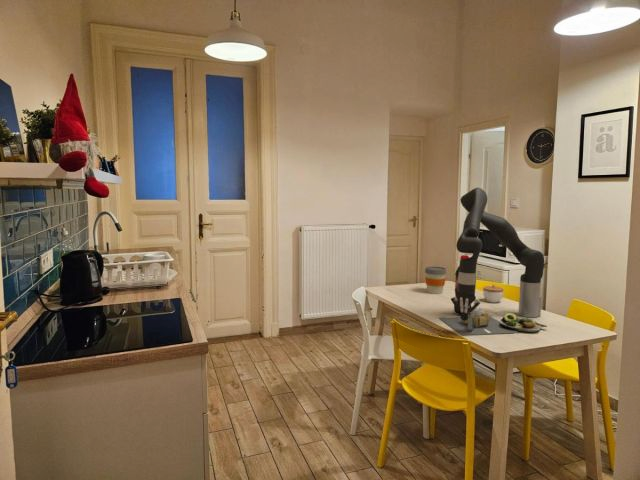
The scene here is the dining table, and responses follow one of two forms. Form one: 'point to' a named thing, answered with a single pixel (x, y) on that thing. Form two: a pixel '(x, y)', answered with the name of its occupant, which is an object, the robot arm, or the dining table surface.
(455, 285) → the cola bottle
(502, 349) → the dining table surface
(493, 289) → the lidded jar
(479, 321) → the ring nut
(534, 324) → the salad plate
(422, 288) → the dining table surface
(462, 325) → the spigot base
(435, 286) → the reusable coffee cup
